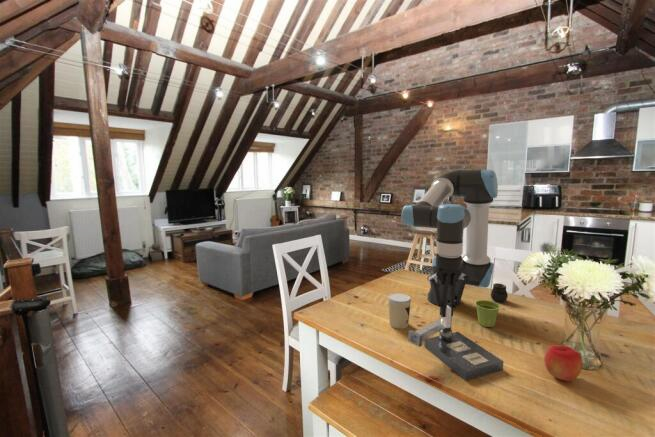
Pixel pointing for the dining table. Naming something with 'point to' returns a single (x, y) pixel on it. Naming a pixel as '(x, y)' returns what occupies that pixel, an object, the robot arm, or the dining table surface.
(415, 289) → the dining table surface
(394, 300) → the coffee cup
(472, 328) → the dining table surface
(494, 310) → the plant pot
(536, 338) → the dining table surface
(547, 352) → the apple
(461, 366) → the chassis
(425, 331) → the grey bar
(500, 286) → the mate gourd
